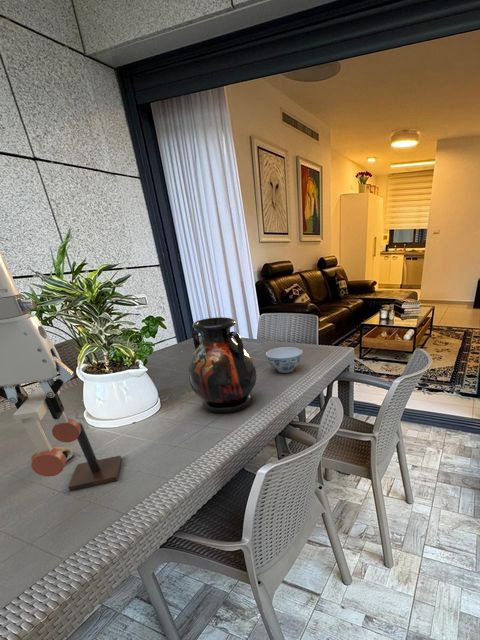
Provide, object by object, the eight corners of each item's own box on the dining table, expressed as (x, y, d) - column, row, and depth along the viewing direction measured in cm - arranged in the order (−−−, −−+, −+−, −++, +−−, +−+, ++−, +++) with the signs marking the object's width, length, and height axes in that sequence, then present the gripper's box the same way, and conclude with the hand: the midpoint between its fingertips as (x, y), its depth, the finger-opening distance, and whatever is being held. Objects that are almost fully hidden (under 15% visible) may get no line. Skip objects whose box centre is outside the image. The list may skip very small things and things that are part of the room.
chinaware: (302, 376, 142) (300, 357, 138) (265, 377, 142) (263, 358, 139) (304, 363, 155) (303, 346, 151) (270, 364, 155) (268, 347, 152)
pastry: (26, 467, 91) (19, 455, 89) (46, 453, 97) (41, 441, 95) (59, 469, 90) (53, 456, 88) (77, 454, 96) (72, 442, 94)
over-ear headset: (38, 479, 59) (5, 418, 54) (60, 439, 71) (34, 386, 65) (67, 473, 60) (38, 413, 55) (84, 435, 72) (62, 382, 66)
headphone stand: (70, 491, 82) (45, 440, 75) (79, 467, 90) (57, 419, 84) (117, 480, 85) (97, 430, 78) (122, 459, 93) (104, 412, 86)
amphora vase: (182, 411, 117) (160, 326, 103) (224, 388, 134) (210, 312, 120) (233, 423, 108) (217, 332, 95) (271, 396, 125) (262, 316, 112)
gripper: (63, 301, 58) (101, 401, 67) (-60, 311, 54) (-2, 418, 63) (50, 308, 52) (94, 418, 61) (-91, 321, 47) (-21, 438, 56)
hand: (45, 417), depth 62 cm, fingers closed on over-ear headset, 3 cm apart
